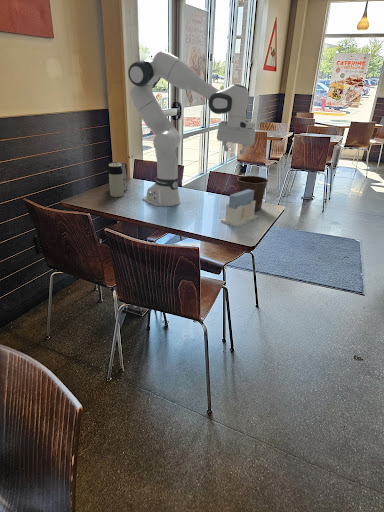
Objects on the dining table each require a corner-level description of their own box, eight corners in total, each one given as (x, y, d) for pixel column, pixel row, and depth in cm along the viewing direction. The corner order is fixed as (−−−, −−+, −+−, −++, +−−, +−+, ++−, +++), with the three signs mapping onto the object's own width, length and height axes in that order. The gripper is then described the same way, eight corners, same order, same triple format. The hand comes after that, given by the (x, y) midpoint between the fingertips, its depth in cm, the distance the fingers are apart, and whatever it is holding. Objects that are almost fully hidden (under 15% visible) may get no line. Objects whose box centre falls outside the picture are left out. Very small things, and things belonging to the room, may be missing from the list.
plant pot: (241, 213, 182) (244, 183, 175) (230, 204, 196) (232, 176, 189) (269, 212, 186) (273, 182, 179) (256, 203, 200) (260, 175, 193)
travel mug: (116, 198, 200) (114, 166, 192) (107, 195, 204) (105, 164, 196) (126, 195, 205) (125, 164, 197) (117, 192, 210) (115, 162, 202)
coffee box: (128, 189, 216) (127, 163, 209) (119, 191, 212) (118, 165, 205) (120, 186, 222) (118, 161, 215) (111, 188, 218) (109, 162, 211)
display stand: (220, 221, 170) (222, 203, 166) (241, 213, 182) (243, 196, 178) (237, 227, 164) (239, 208, 160) (257, 218, 177) (259, 200, 173)
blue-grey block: (228, 207, 165) (229, 195, 163) (247, 200, 176) (248, 189, 174) (234, 209, 163) (235, 196, 161) (252, 202, 174) (254, 190, 172)
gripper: (215, 120, 168) (213, 150, 174) (251, 124, 156) (247, 156, 162) (222, 120, 172) (220, 149, 178) (258, 124, 160) (254, 154, 167)
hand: (233, 152), depth 170 cm, fingers open, 8 cm apart
